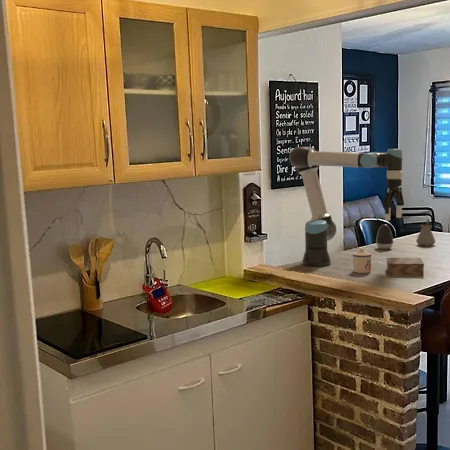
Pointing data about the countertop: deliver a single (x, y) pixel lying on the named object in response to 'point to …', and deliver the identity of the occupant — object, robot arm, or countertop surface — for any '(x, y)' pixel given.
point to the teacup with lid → (362, 261)
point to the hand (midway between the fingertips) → (393, 218)
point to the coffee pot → (425, 236)
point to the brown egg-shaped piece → (384, 237)
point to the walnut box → (405, 266)
